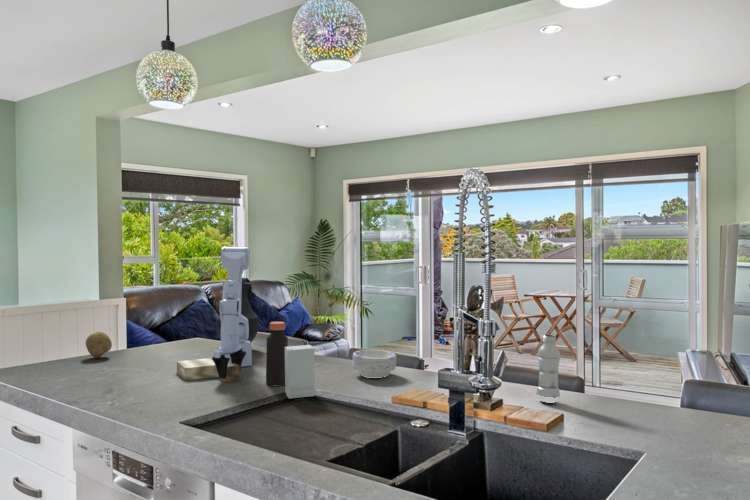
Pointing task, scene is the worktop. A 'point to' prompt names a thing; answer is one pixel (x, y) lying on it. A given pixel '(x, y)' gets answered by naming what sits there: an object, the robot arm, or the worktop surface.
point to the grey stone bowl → (374, 362)
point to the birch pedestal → (197, 369)
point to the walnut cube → (231, 373)
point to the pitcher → (245, 311)
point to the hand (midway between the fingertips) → (229, 375)
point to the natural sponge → (98, 344)
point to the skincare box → (299, 371)
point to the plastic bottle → (548, 367)
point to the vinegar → (276, 354)
